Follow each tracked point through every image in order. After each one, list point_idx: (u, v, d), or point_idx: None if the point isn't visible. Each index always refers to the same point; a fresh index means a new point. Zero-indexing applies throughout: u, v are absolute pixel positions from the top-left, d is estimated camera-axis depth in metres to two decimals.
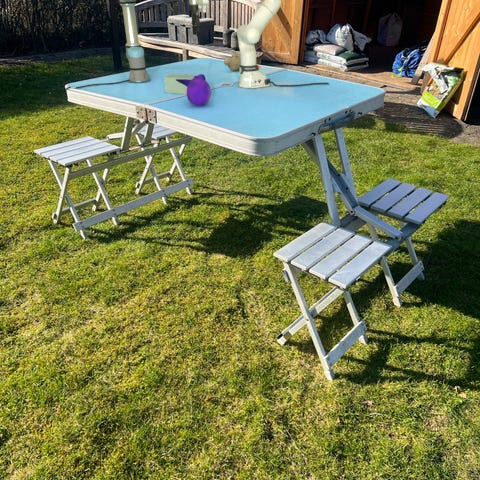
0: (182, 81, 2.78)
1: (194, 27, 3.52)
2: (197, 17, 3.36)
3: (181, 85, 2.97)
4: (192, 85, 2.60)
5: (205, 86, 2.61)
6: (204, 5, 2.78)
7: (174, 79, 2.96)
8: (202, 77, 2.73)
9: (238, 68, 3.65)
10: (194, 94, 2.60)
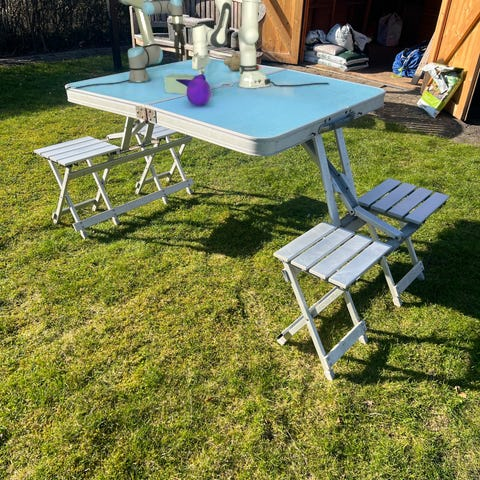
0: (182, 81, 2.78)
1: (182, 47, 3.17)
2: (175, 37, 3.01)
3: (181, 85, 2.97)
4: (192, 85, 2.60)
5: (205, 86, 2.61)
6: (199, 69, 2.90)
7: (174, 79, 2.96)
8: (202, 77, 2.73)
9: (238, 68, 3.65)
10: (194, 94, 2.60)
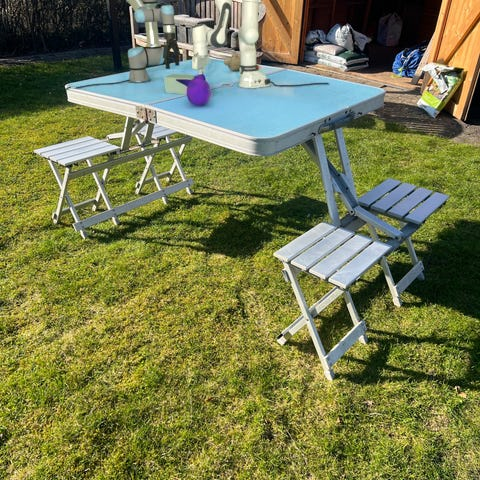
0: (182, 81, 2.78)
1: (176, 57, 3.02)
2: (165, 47, 2.87)
3: (181, 85, 2.97)
4: (192, 85, 2.60)
5: (205, 86, 2.61)
6: (199, 68, 2.90)
7: (174, 79, 2.96)
8: (202, 77, 2.73)
9: (238, 68, 3.65)
10: (194, 94, 2.60)
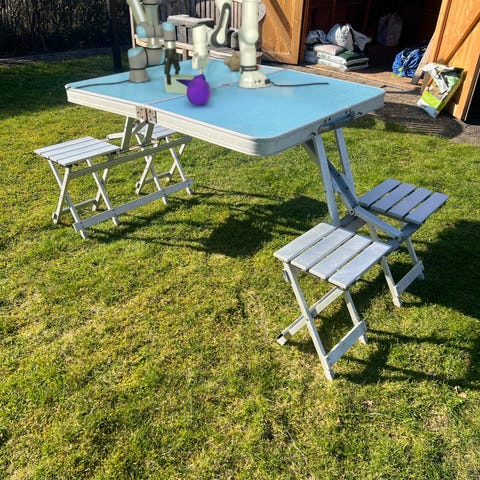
0: (182, 81, 2.78)
1: (176, 73, 3.06)
2: (166, 63, 2.91)
3: (181, 85, 2.97)
4: (192, 85, 2.60)
5: (205, 86, 2.61)
6: (199, 68, 2.90)
7: (174, 79, 2.96)
8: (202, 77, 2.73)
9: (238, 68, 3.65)
10: (194, 94, 2.60)
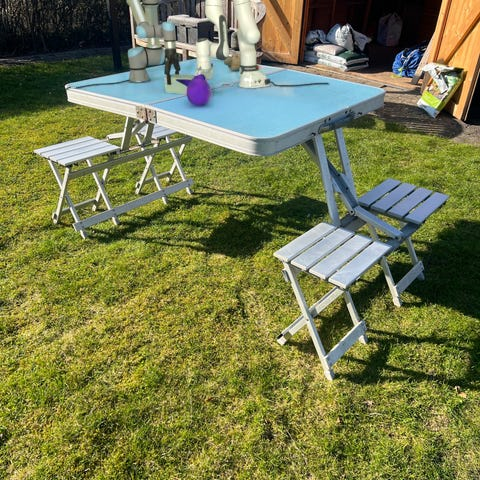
0: (182, 81, 2.78)
1: (177, 73, 3.06)
2: (166, 63, 2.91)
3: (181, 85, 2.97)
4: (192, 85, 2.60)
5: (205, 86, 2.61)
6: None
7: (174, 79, 2.96)
8: (202, 77, 2.73)
9: (238, 68, 3.65)
10: (194, 94, 2.60)
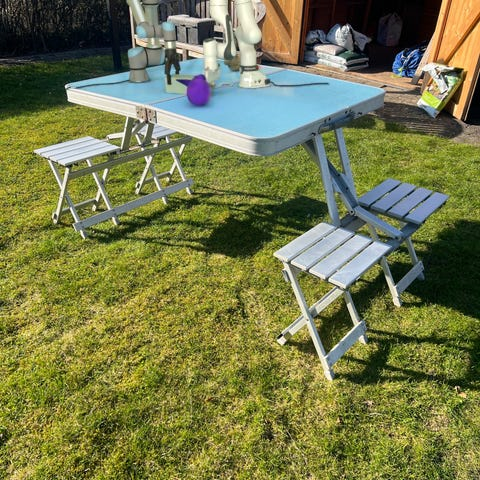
0: (182, 81, 2.78)
1: (177, 73, 3.06)
2: (166, 63, 2.91)
3: (181, 85, 2.97)
4: (192, 85, 2.60)
5: (205, 86, 2.61)
6: (209, 82, 2.92)
7: (174, 79, 2.96)
8: (202, 77, 2.73)
9: (238, 68, 3.65)
10: (194, 94, 2.60)
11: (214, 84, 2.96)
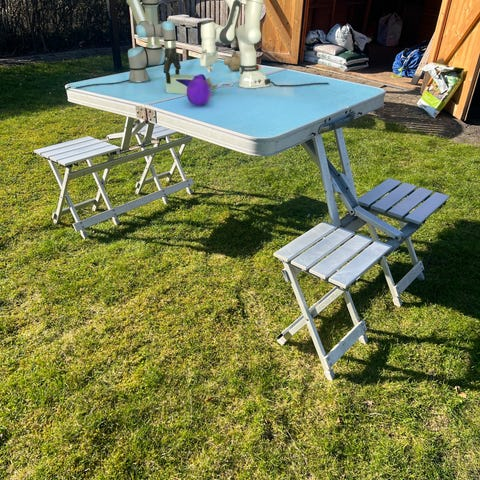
0: (182, 81, 2.78)
1: (177, 71, 3.06)
2: (165, 62, 2.91)
3: (182, 85, 2.96)
4: (192, 85, 2.60)
5: (205, 86, 2.61)
6: (207, 66, 2.87)
7: (175, 79, 2.96)
8: (202, 77, 2.73)
9: (238, 68, 3.65)
10: (194, 94, 2.60)
11: (216, 84, 2.95)
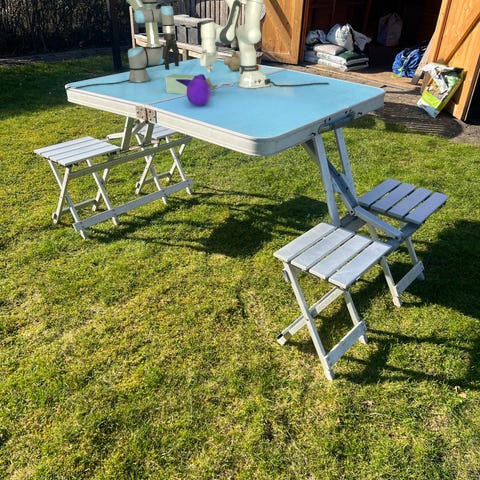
0: (182, 81, 2.78)
1: (176, 58, 3.02)
2: (164, 48, 2.86)
3: (182, 85, 2.96)
4: (192, 85, 2.60)
5: (205, 86, 2.61)
6: (207, 66, 2.87)
7: (175, 79, 2.96)
8: (202, 77, 2.73)
9: (238, 68, 3.65)
10: (194, 94, 2.60)
11: (216, 84, 2.95)
